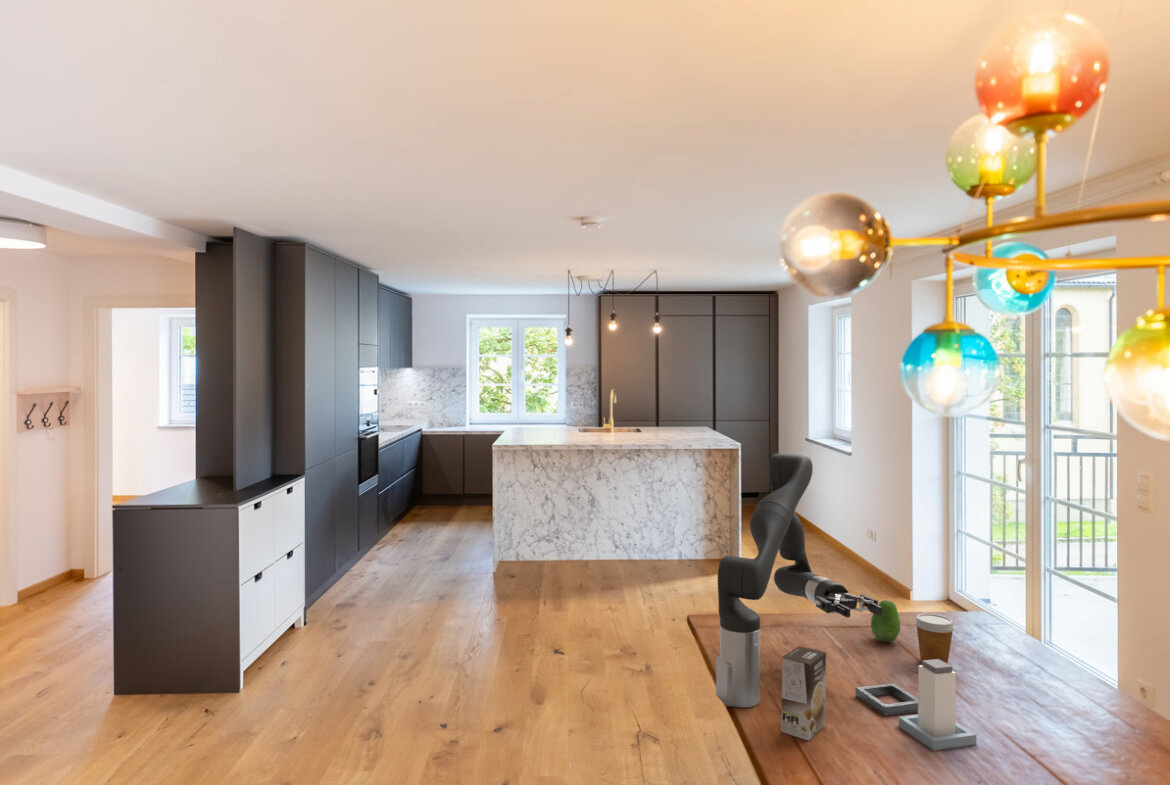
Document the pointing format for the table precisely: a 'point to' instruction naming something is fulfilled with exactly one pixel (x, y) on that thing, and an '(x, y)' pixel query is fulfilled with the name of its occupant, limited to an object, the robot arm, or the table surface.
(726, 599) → the robot arm
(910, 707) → the back socket
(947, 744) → the front socket
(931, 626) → the disposable coffee cup
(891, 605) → the avocado
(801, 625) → the table surface
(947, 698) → the plug
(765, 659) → the table surface
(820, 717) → the coffee box
